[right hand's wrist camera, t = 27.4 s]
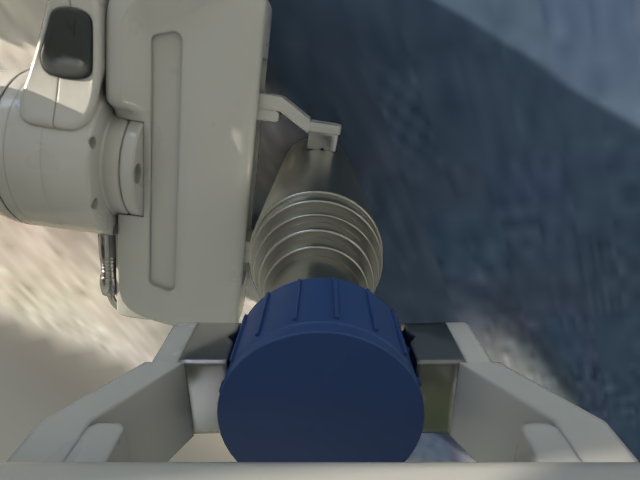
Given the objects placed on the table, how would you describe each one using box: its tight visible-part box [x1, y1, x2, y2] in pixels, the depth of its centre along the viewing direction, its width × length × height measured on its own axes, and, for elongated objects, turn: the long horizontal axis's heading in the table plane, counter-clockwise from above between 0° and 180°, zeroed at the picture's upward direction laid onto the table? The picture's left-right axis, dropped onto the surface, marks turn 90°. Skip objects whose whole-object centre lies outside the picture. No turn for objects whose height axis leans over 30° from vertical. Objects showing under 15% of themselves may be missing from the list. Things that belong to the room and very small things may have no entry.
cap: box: [217, 277, 424, 462], centre depth 9 cm, size 4×4×2 cm
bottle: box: [249, 137, 383, 299], centre depth 20 cm, size 5×5×22 cm
